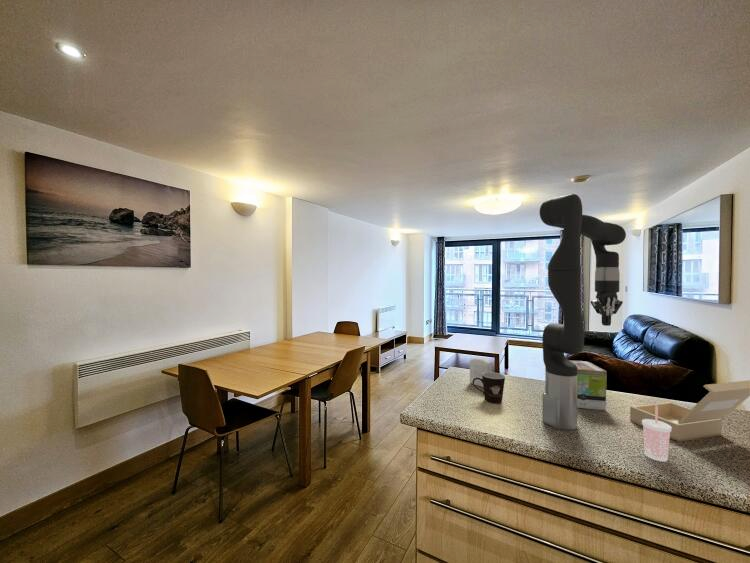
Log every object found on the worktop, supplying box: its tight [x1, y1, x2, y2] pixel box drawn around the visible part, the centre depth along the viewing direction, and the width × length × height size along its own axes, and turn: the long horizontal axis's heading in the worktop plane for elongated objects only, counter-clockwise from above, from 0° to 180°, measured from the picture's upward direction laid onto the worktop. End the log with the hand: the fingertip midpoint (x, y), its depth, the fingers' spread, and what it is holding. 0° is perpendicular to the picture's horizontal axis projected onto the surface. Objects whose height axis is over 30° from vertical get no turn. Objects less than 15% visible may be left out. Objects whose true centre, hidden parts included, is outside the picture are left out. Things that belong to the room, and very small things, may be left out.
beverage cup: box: [642, 405, 672, 462], centre depth 86 cm, size 6×6×14 cm
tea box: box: [568, 359, 608, 411], centre depth 124 cm, size 15×10×15 cm, turn 168°
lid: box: [678, 379, 750, 424], centre depth 93 cm, size 18×15×2 cm
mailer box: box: [629, 401, 723, 443], centre depth 103 cm, size 18×14×5 cm
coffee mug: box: [471, 371, 506, 405], centre depth 126 cm, size 12×9×10 cm
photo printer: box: [469, 357, 493, 388], centre depth 143 cm, size 10×4×12 cm, turn 36°
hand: (606, 325), depth 119 cm, fingers closed
